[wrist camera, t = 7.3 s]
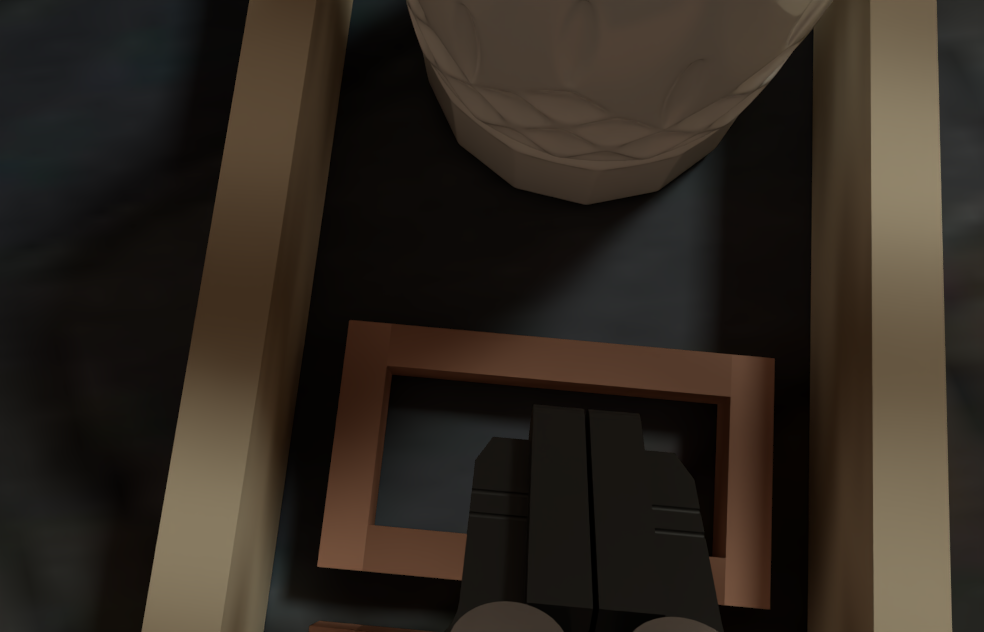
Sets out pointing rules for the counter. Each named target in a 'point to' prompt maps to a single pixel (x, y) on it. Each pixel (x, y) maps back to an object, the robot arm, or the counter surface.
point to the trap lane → (579, 352)
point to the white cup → (601, 83)
